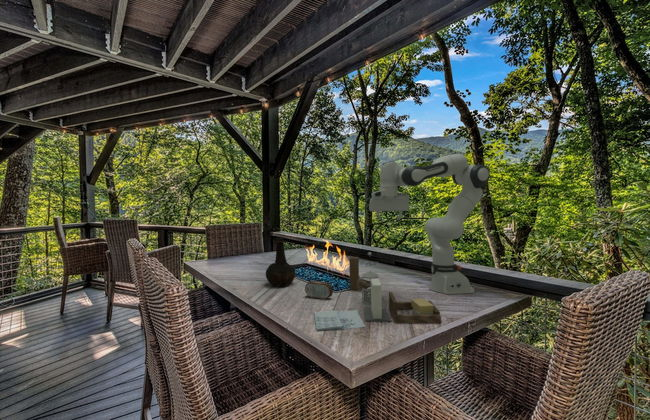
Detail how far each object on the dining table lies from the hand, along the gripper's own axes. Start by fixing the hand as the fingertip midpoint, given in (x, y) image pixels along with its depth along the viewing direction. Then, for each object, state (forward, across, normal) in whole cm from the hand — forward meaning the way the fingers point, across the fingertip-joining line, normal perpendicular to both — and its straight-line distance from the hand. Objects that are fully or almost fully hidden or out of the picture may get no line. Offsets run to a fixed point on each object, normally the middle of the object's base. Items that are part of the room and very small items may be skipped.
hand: (389, 220), depth 163 cm
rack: (+39, -6, +28) cm, 48 cm away
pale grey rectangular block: (+39, +10, +28) cm, 49 cm away
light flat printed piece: (+40, +26, +34) cm, 59 cm away
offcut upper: (+36, -10, +28) cm, 47 cm away
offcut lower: (+40, -10, +28) cm, 49 cm away
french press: (+39, +12, +13) cm, 43 cm away
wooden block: (+39, +16, -10) cm, 44 cm away
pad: (+39, +10, +28) cm, 49 cm away
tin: (+39, +37, +4) cm, 54 cm away
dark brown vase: (+39, +62, -22) cm, 77 cm away
